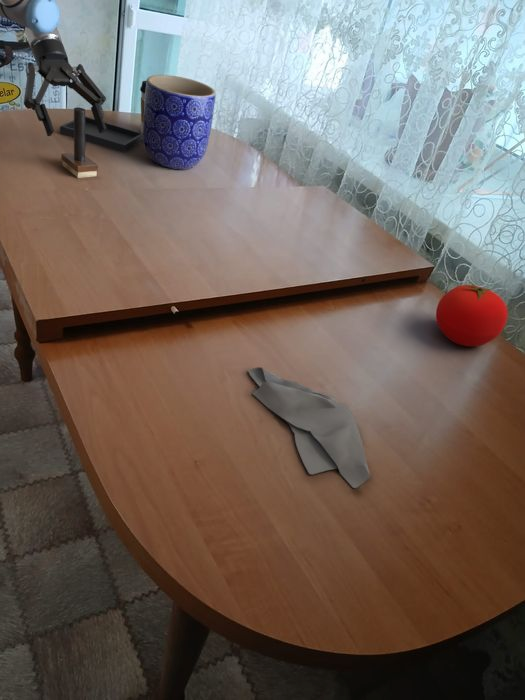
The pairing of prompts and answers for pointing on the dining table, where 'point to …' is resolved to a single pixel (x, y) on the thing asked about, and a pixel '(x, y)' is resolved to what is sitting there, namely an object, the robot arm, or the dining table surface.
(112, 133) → the tray
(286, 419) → the cloth
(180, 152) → the planter
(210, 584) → the dining table surface
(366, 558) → the dining table surface
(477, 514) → the dining table surface
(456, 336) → the tomato
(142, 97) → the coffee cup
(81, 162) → the brush
